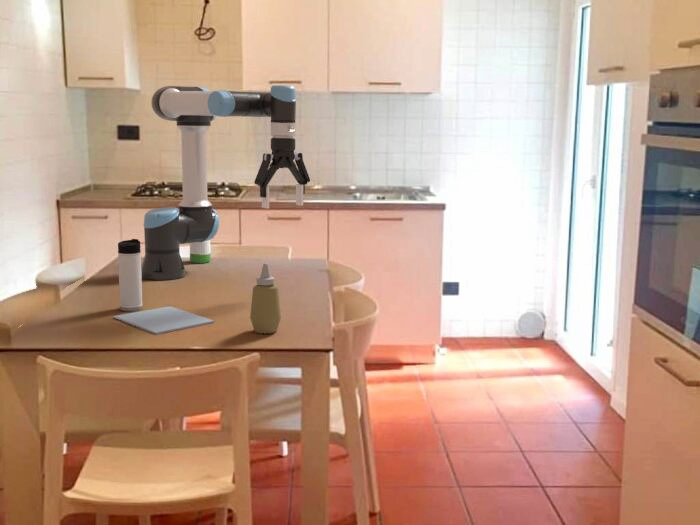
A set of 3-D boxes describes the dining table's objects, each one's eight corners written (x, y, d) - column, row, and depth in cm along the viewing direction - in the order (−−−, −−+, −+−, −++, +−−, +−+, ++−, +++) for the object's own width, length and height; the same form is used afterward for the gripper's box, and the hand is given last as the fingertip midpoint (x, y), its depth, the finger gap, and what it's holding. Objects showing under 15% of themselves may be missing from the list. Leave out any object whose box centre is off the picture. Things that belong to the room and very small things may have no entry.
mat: (113, 318, 218) (113, 316, 218) (170, 307, 231) (170, 306, 231) (156, 334, 203) (156, 332, 203) (214, 322, 215) (214, 320, 215)
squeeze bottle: (250, 327, 211) (250, 261, 208) (281, 327, 212) (281, 261, 209) (249, 335, 204) (249, 266, 200) (281, 335, 204) (281, 266, 201)
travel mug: (147, 307, 231) (145, 239, 227) (134, 312, 225) (132, 242, 221) (129, 305, 233) (126, 238, 229) (115, 310, 227) (113, 241, 223)
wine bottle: (193, 259, 307) (192, 182, 301) (213, 260, 306) (212, 182, 300) (187, 263, 299) (185, 183, 294) (207, 264, 298) (205, 184, 293)
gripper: (258, 137, 230) (258, 210, 234) (321, 137, 247) (320, 205, 251) (242, 137, 235) (242, 208, 239) (305, 136, 252) (305, 202, 256)
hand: (282, 206), depth 245 cm, fingers open, 13 cm apart
